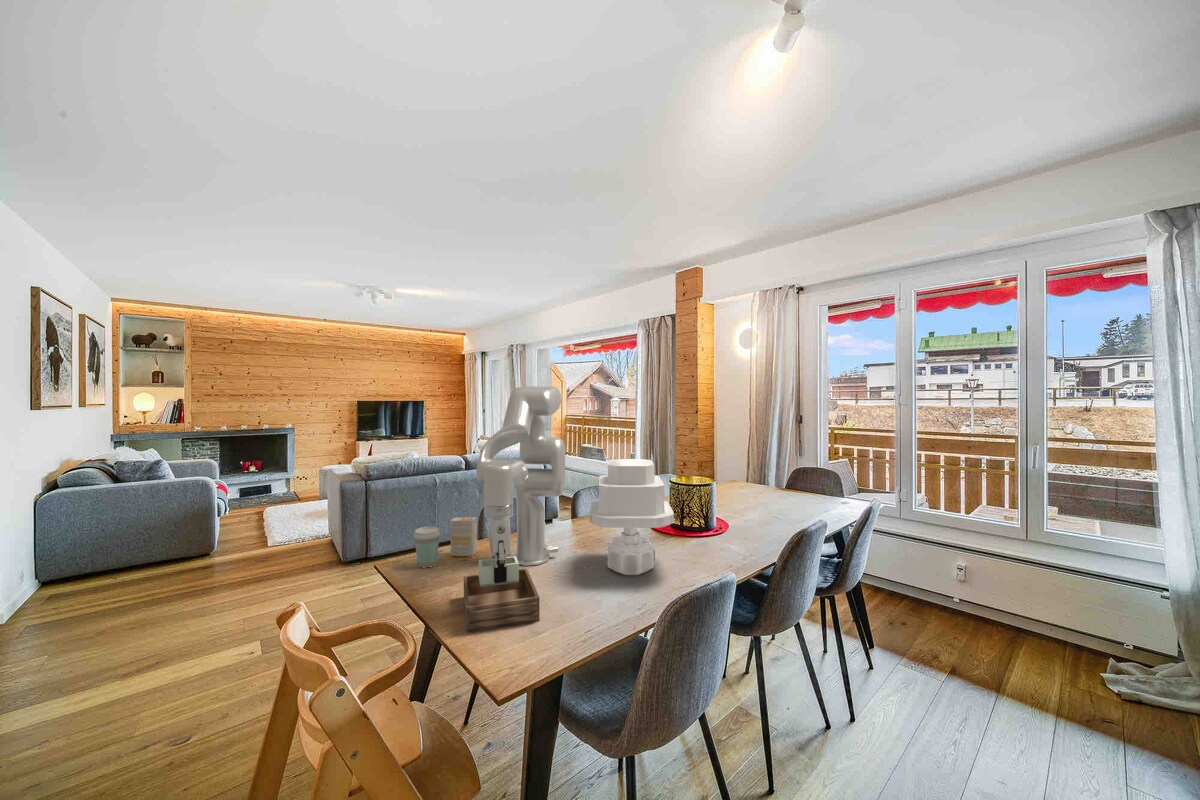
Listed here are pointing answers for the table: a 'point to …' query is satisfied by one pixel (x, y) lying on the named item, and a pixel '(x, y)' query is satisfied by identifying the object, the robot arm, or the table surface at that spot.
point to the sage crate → (488, 571)
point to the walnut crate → (500, 603)
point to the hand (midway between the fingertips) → (499, 576)
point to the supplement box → (463, 536)
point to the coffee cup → (427, 545)
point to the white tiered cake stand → (631, 512)
